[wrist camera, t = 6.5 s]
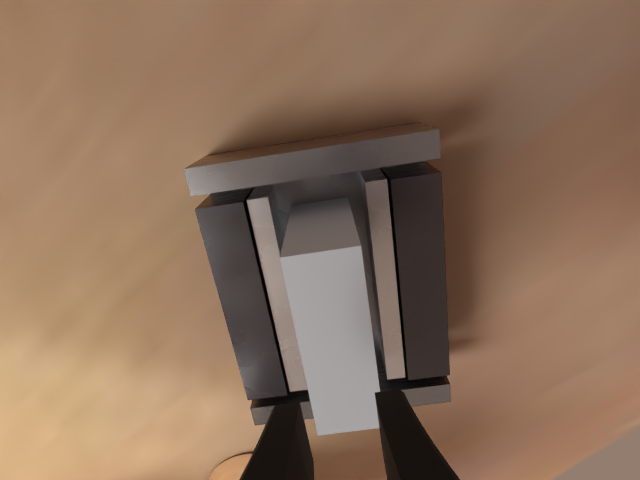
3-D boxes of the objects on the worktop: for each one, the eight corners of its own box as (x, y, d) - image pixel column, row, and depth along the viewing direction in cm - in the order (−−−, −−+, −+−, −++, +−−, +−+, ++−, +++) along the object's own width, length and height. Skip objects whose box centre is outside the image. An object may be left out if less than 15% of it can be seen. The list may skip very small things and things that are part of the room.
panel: (347, 196, 16) (361, 245, 11) (366, 336, 19) (384, 427, 14) (291, 205, 17) (279, 257, 11) (317, 342, 19) (317, 435, 14)
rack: (418, 122, 16) (442, 129, 13) (432, 358, 20) (452, 406, 17) (206, 155, 17) (180, 170, 14) (263, 380, 21) (254, 430, 18)
